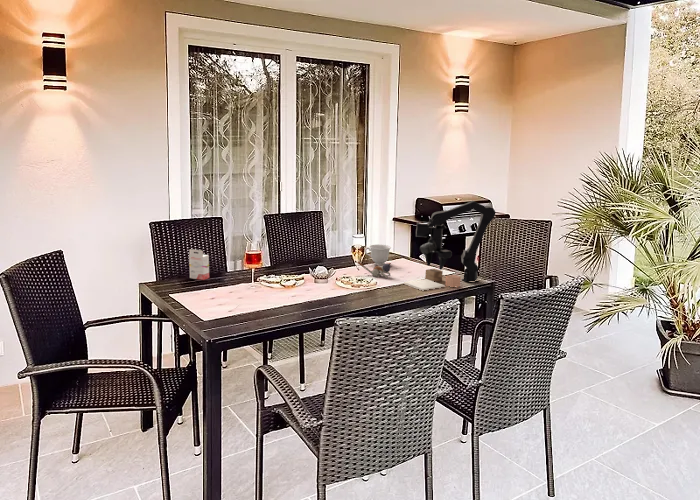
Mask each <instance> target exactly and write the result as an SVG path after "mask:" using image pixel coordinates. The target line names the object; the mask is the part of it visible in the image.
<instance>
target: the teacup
mask: <svg viewBox="0 0 700 500" xmlns="http://www.w3.org/2000/svg"><path fill="white" fill-rule="evenodd" d="M391 248H392V247H391V246H390V245H387V244H370V245H369V247H368V246H367V247H365V248H364V253H365V255H367V256H370V258H371V259H372V262H374V265H376V266H383V265H385V264H386V263H387V261H388V260H389V254H390V249H391ZM367 250H368V251H369V252H370V253H368V252H367Z"/></svg>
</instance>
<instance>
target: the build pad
mask: <svg viewBox="0 0 700 500" xmlns="http://www.w3.org/2000/svg"><path fill="white" fill-rule="evenodd" d="M404 285H405V286H409V287H410V288H414V289H416V290H418V289H419V291H421V290H422V291H421V292H425V291H424V290H427V291H430V290H429V289H433V290H436V289H435V288H439V289H442V288H441V287H445V288H446V286H445V284H442V283H439V282H438V281H435V282H434V281H431V280H428V279H425V278H424V279H417V280H410V281H405V282H404Z"/></svg>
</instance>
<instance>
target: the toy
mask: <svg viewBox="0 0 700 500" xmlns="http://www.w3.org/2000/svg"><path fill="white" fill-rule="evenodd" d="M357 264H358V265H360V266H361V267H363V268H364V269H365V270H366V271H367V272H368V273H370V274H371V275H372V276H373V277H378V278H379V277H380V276H383V277H385V279H388V276H387V275H389V276H391V273H390V270H391V268H392V266H391V264H392V262H388V263H387V262H386V263H385V264H384V265H376V266H375V267H374V268H373V270H371V269H369V268H368V267H367V266H365V265H364V264H363V263H361V262H360V261H357Z"/></svg>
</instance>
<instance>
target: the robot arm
mask: <svg viewBox="0 0 700 500" xmlns="http://www.w3.org/2000/svg"><path fill="white" fill-rule="evenodd" d="M472 210H474V211H475V212H478V213H479V214H480V215H479V216H480V218H479V223H478V225H477V227H476V229H475V232H474V234H473V237H472V239H471V242H470V244H469V246H468V248H467V249H463V250H462V251H463V252H462V254H461V255H460V258H461V263H462V265H463V266H464V267H465V268H464V272H463V278H461V281H463V280H464V281H463V282H466V281H475V280H476V279H477V280H478V275H479V273H478V270H479V266H478V264H477V263H476V259H477V258H476V257H477V251H478V250H479V249H478V248H479V246H480V244H481V242H482V239H483V237H484V234H485V232H486V231H487V227H488V226H489V224H491V223H492V221H493V219H494V218H495V216H496V210H495V209H494V208H493V207H492V206H490V205H483V204H481V203H478V202H476V201H474V200H471V201H469V202H467V203H464V204H461V205H458V206H454V207H453V208H450V209H447V210H441V211H440V210H439V211H435V212H433V213H432V214H431V217H430V219H429V220H428V221H427V223H419V222H418V223H416V229H415V237H416V238H417V237H418V238H427V237H428V236H430V238H428V240H427V242H426V243H423V244H422V245H420V246H419V252H420V253H422V254H423V256H424V258H425V261H426V264H427V266H429V267H430V265H431V262H432V258H433V255H434V253H435V254H437V255H438V256H437V258H438V259H439V265H438V266H439V270H441V271H443V269H444V266H445V264H446V263H447V261H448V260H449V259H450V258H451V257H453V252H452V251H451V250H448V249H444V247H442V245H443V242H445V241H444V239H443V230H447V227H446V226H445V224H444V223H446V222H447V221H448V220H450V219H451V218H454V217H457V216H459V215H462V214H464V213H467V212H470V211H472Z"/></svg>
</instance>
